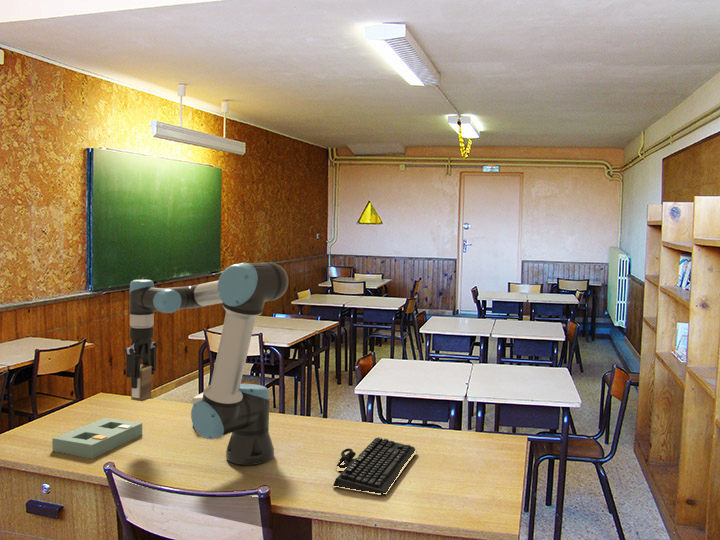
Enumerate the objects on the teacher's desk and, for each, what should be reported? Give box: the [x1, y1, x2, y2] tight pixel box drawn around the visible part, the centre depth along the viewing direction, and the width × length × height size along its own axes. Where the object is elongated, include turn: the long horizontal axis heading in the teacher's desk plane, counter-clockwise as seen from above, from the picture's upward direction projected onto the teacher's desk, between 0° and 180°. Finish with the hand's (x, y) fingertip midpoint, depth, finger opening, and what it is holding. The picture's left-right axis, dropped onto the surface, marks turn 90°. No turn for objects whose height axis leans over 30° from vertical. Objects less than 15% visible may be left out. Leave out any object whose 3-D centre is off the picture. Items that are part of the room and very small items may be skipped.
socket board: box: [51, 417, 143, 460], centre depth 212 cm, size 16×24×5 cm, turn 161°
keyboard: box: [332, 436, 416, 494], centre depth 196 cm, size 37×22×5 cm, turn 160°
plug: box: [130, 364, 152, 402], centre depth 210 cm, size 5×5×11 cm
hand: (141, 395), depth 210 cm, fingers closed on plug, 4 cm apart
